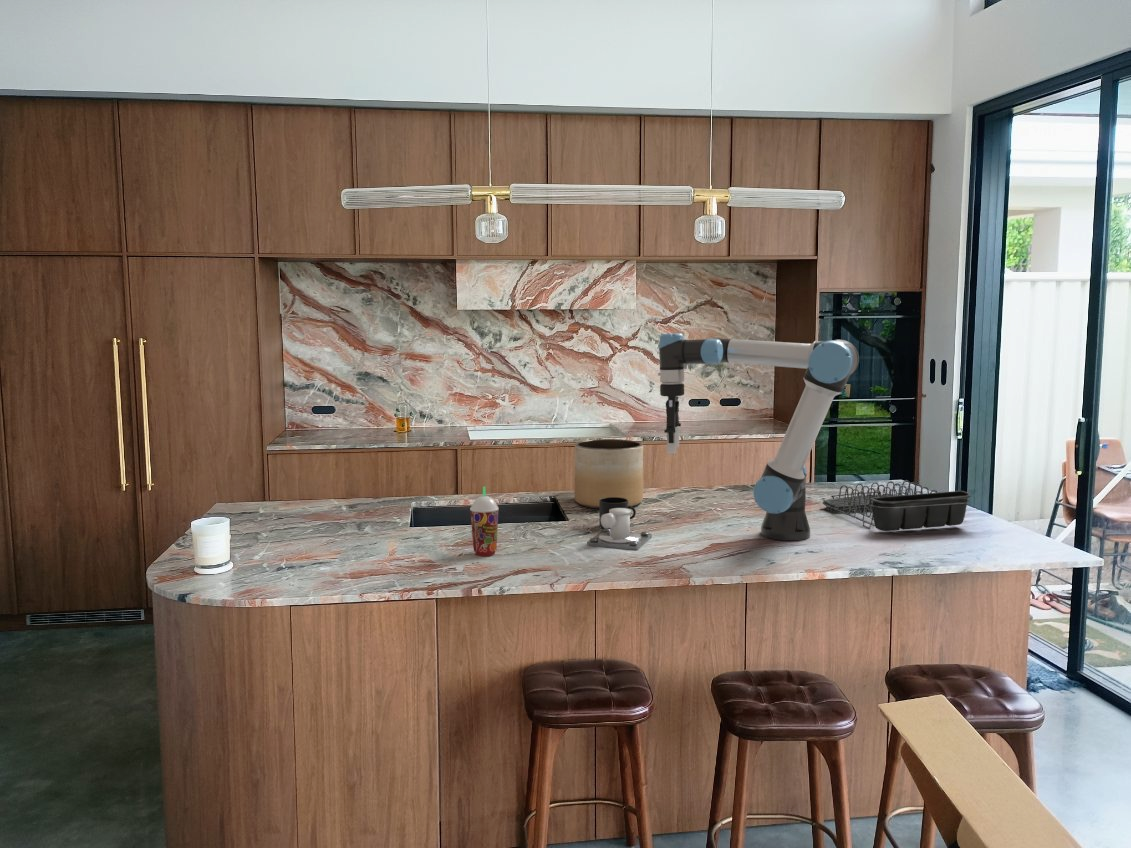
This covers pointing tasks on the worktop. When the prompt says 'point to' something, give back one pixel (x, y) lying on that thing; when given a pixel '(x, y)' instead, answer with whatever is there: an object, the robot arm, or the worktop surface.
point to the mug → (613, 506)
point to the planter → (608, 471)
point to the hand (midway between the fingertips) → (673, 450)
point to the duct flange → (619, 540)
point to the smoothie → (484, 525)
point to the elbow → (617, 522)
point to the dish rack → (903, 507)
